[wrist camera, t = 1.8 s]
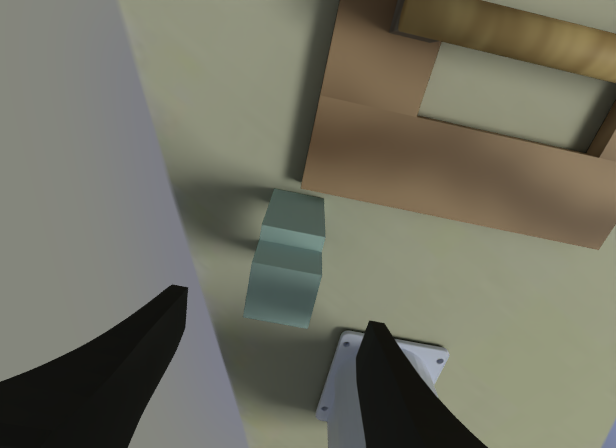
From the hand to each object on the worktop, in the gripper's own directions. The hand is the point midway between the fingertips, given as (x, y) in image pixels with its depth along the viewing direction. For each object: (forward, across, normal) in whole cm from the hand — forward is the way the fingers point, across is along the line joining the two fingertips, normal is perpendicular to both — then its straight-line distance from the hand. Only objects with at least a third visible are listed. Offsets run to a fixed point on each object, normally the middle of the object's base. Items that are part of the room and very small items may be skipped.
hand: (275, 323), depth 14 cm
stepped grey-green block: (+9, 0, 0) cm, 9 cm away
